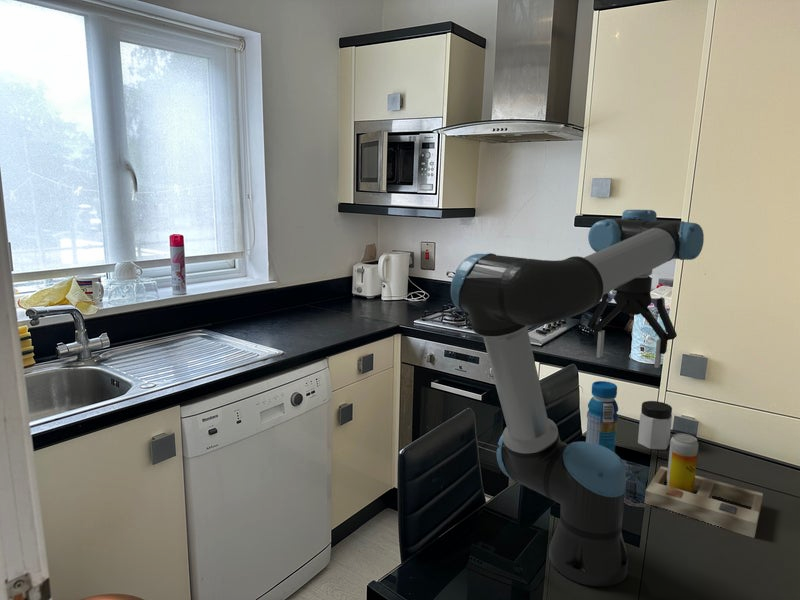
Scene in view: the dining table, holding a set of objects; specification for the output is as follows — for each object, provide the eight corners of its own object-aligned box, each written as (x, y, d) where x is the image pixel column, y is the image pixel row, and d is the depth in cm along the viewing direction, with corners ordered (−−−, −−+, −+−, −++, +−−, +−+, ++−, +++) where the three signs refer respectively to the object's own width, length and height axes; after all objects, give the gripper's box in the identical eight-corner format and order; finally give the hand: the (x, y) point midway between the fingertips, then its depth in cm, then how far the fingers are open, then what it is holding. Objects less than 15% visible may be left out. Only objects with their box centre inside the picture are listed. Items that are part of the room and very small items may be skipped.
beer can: (696, 502, 135) (702, 444, 133) (669, 499, 137) (674, 442, 134) (688, 489, 141) (694, 433, 139) (662, 487, 143) (668, 431, 140)
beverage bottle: (580, 451, 162) (584, 385, 158) (590, 441, 169) (594, 377, 165) (610, 459, 157) (615, 391, 153) (619, 449, 164) (624, 383, 160)
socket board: (644, 504, 135) (645, 489, 134) (659, 478, 147) (660, 464, 146) (754, 538, 122) (756, 522, 121) (761, 506, 134) (763, 492, 133)
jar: (664, 438, 171) (667, 401, 169) (674, 450, 163) (678, 411, 161) (633, 437, 172) (636, 400, 170) (642, 449, 164) (645, 410, 162)
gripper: (695, 278, 129) (686, 366, 133) (587, 269, 144) (582, 349, 148) (689, 282, 124) (680, 374, 127) (577, 272, 138) (572, 355, 142)
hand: (627, 361), depth 138 cm, fingers open, 13 cm apart
